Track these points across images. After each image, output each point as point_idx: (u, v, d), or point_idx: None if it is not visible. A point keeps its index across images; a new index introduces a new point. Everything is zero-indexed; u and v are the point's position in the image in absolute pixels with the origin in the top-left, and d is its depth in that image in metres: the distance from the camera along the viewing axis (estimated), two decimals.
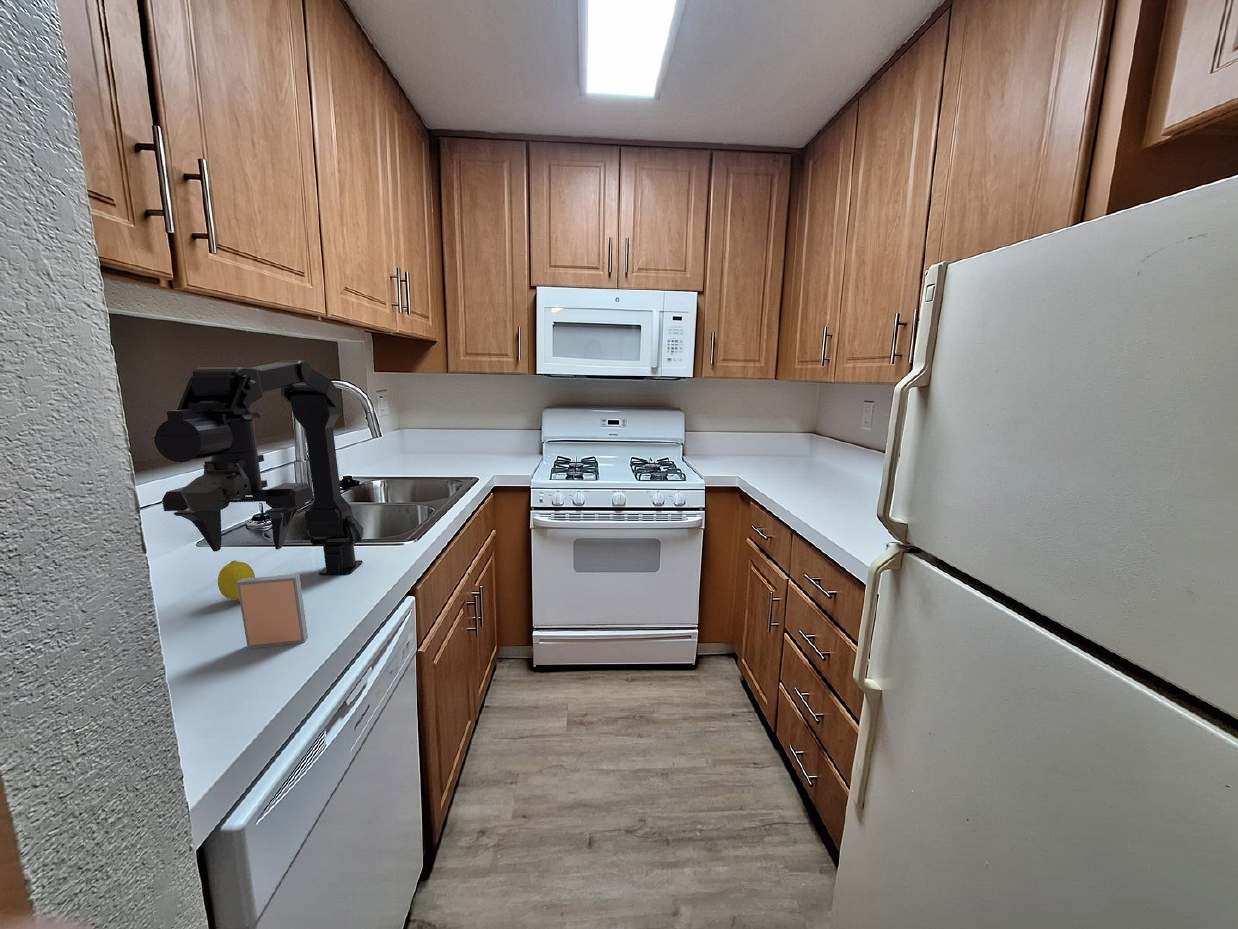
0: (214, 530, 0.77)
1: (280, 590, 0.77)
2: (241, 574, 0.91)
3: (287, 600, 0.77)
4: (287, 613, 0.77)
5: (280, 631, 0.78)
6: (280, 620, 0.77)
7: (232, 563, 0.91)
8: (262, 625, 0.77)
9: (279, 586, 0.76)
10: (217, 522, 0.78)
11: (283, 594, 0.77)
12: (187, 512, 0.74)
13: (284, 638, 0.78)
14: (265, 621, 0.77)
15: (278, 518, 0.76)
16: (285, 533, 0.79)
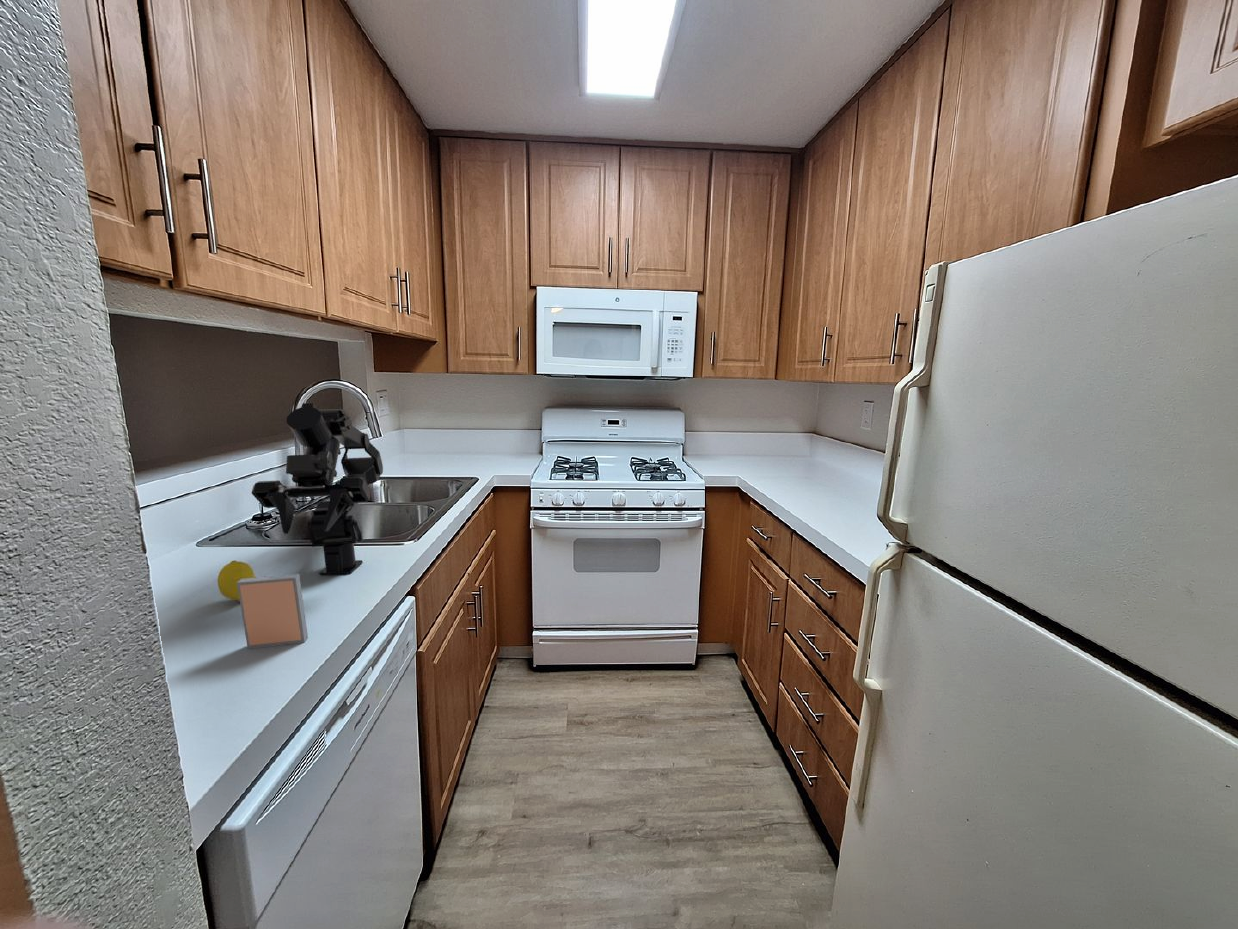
0: (288, 517, 0.92)
1: (280, 590, 0.77)
2: (241, 574, 0.91)
3: (287, 600, 0.77)
4: (287, 613, 0.77)
5: (280, 631, 0.78)
6: (280, 620, 0.77)
7: (232, 563, 0.91)
8: (262, 625, 0.77)
9: (279, 586, 0.76)
10: (291, 515, 0.93)
11: (283, 594, 0.77)
12: None
13: (284, 638, 0.78)
14: (265, 621, 0.77)
15: (336, 500, 0.93)
16: (334, 521, 0.93)
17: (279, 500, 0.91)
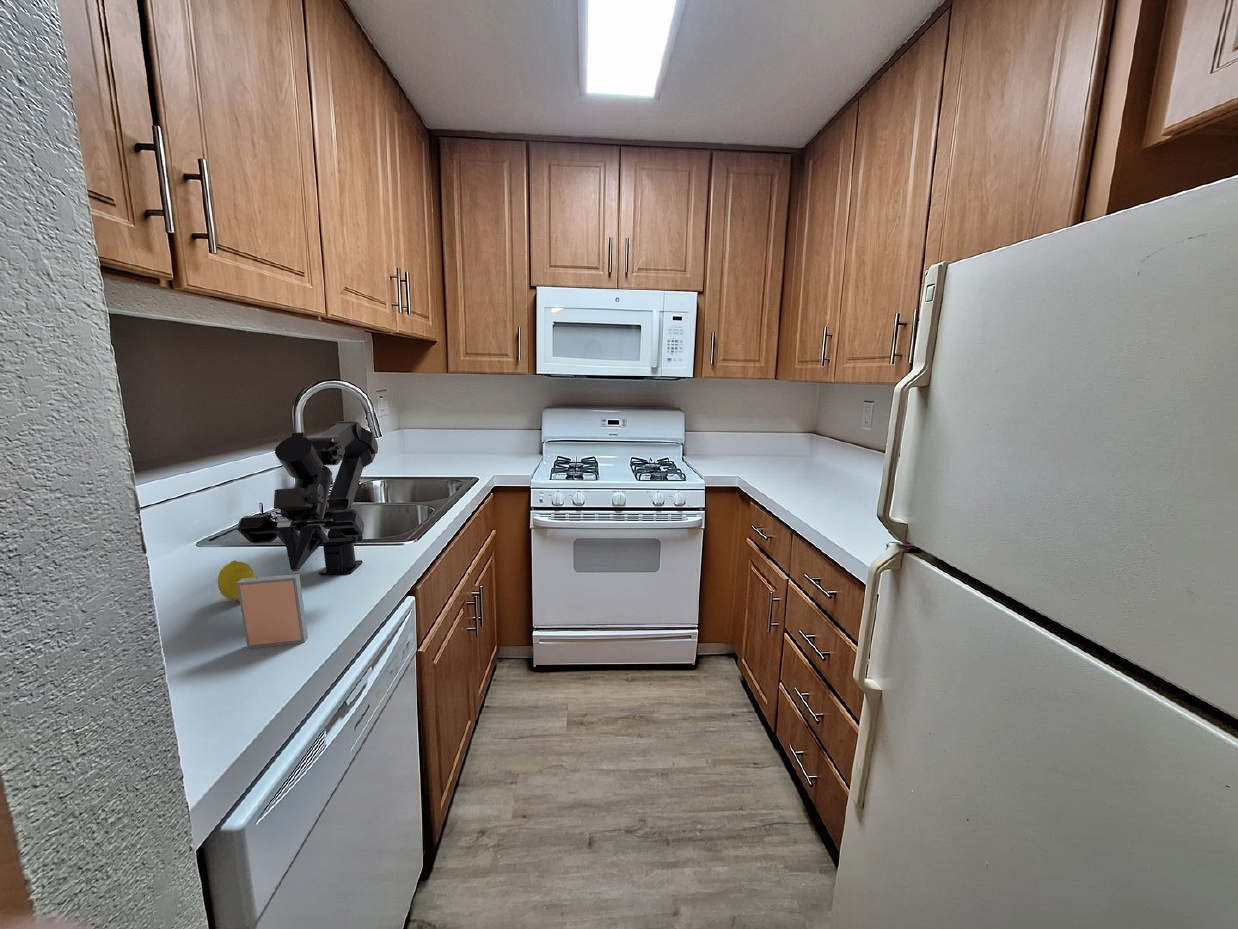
0: (296, 553, 0.87)
1: (280, 590, 0.77)
2: (241, 574, 0.91)
3: (287, 600, 0.77)
4: (287, 613, 0.77)
5: (280, 631, 0.78)
6: (280, 620, 0.77)
7: (232, 563, 0.91)
8: (262, 625, 0.77)
9: (279, 586, 0.76)
10: None
11: (283, 594, 0.77)
12: (286, 528, 0.86)
13: (284, 638, 0.78)
14: (265, 621, 0.77)
15: (307, 537, 0.87)
16: (305, 559, 0.87)
17: (287, 535, 0.86)
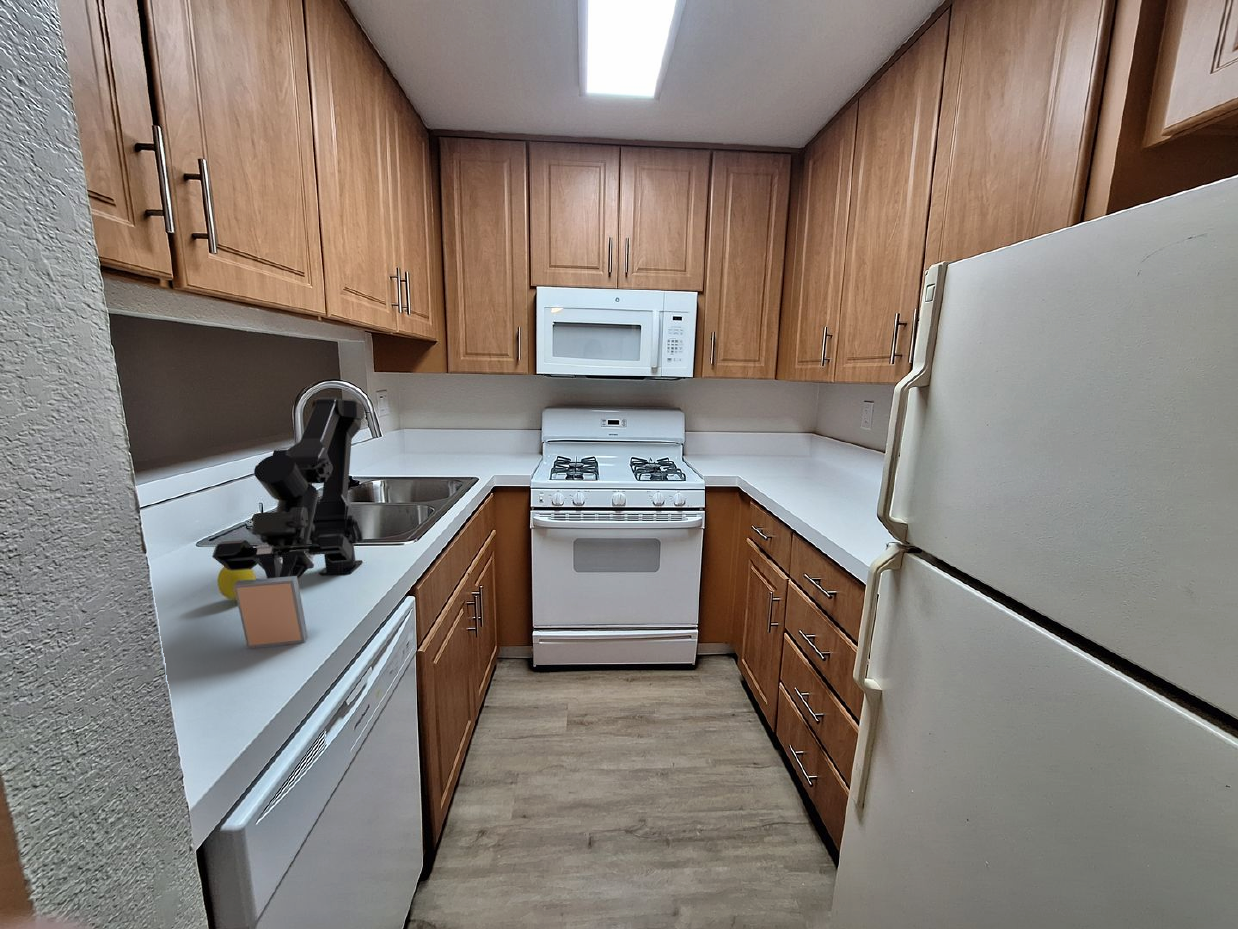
0: None
1: (277, 592, 0.76)
2: (240, 574, 0.91)
3: (285, 602, 0.76)
4: (286, 615, 0.77)
5: (280, 632, 0.77)
6: (279, 621, 0.77)
7: None
8: (261, 626, 0.77)
9: (277, 589, 0.76)
10: None
11: (281, 596, 0.76)
12: (266, 554, 0.79)
13: (284, 638, 0.78)
14: (264, 622, 0.76)
15: (290, 564, 0.80)
16: None
17: (267, 562, 0.79)
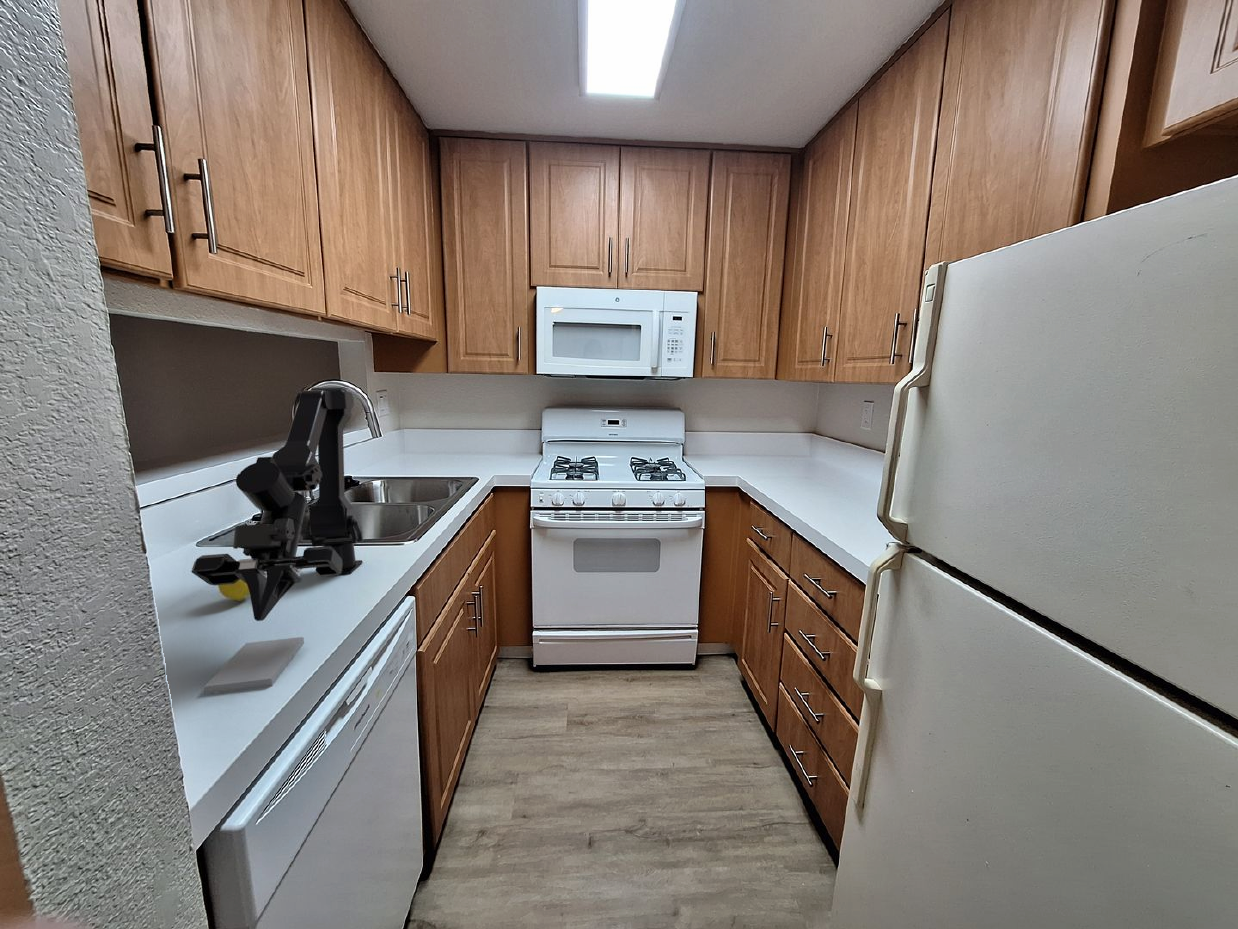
0: None
1: None
2: None
3: None
4: None
5: None
6: None
7: None
8: None
9: None
10: None
11: None
12: None
13: None
14: None
15: (275, 580, 0.75)
16: (272, 605, 0.75)
17: (250, 578, 0.74)
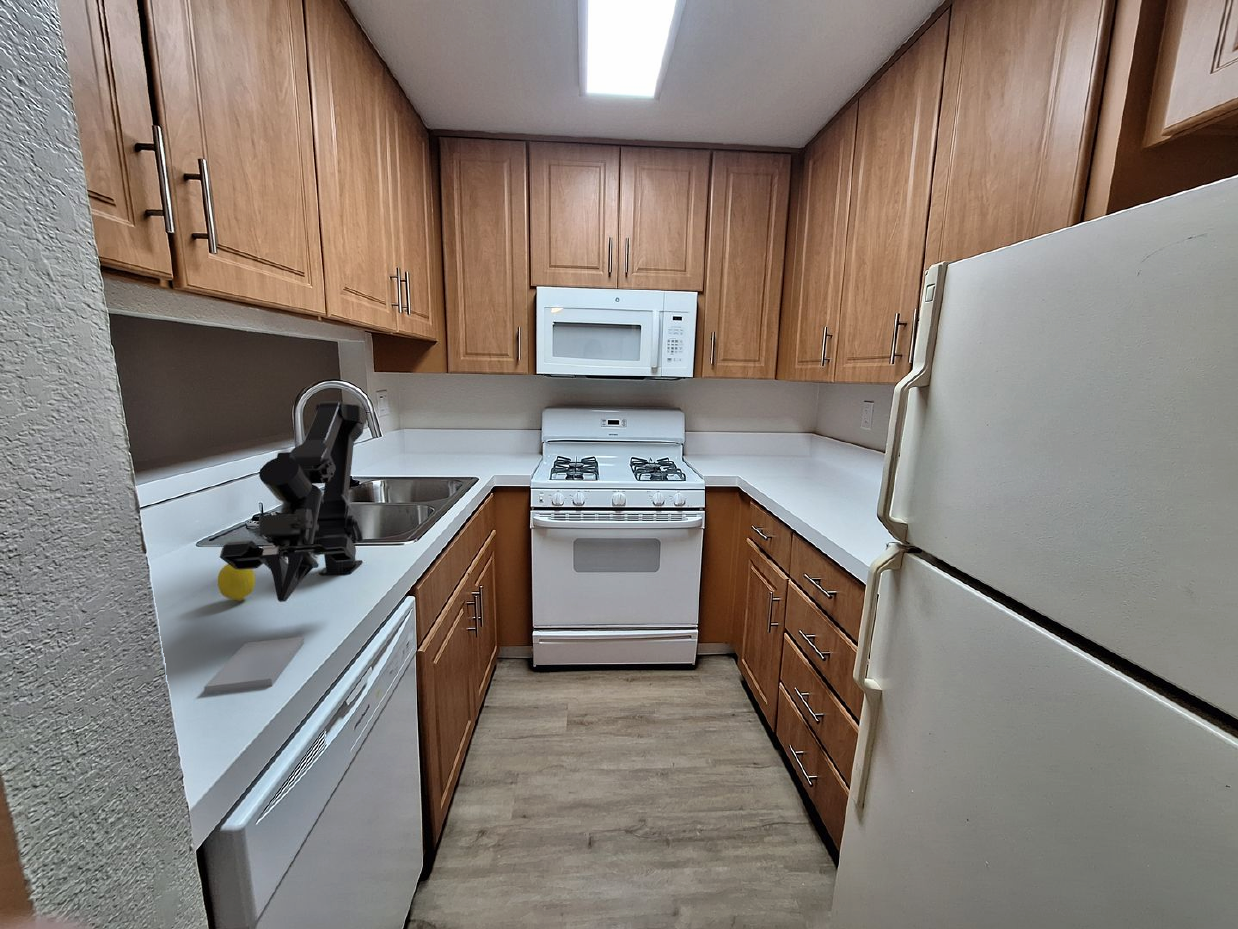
0: None
1: None
2: (241, 574, 0.91)
3: None
4: None
5: None
6: None
7: None
8: None
9: None
10: None
11: None
12: (272, 555, 0.81)
13: None
14: None
15: (295, 565, 0.82)
16: (293, 588, 0.82)
17: (273, 563, 0.81)
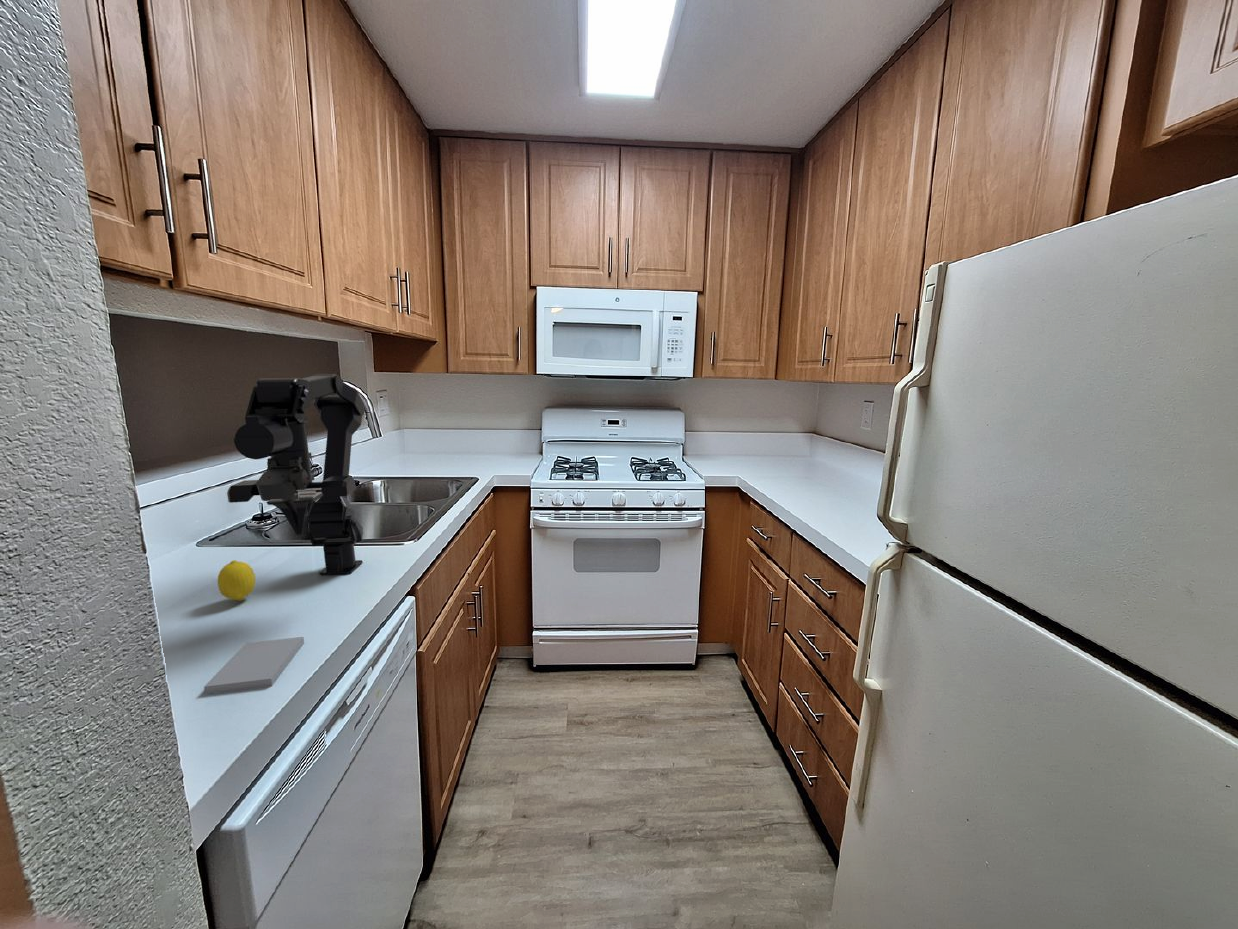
0: (296, 517, 0.90)
1: None
2: (241, 574, 0.91)
3: None
4: None
5: None
6: None
7: (232, 563, 0.91)
8: None
9: None
10: None
11: None
12: (279, 501, 0.87)
13: None
14: None
15: (303, 507, 0.88)
16: (306, 521, 0.91)
17: (282, 507, 0.87)
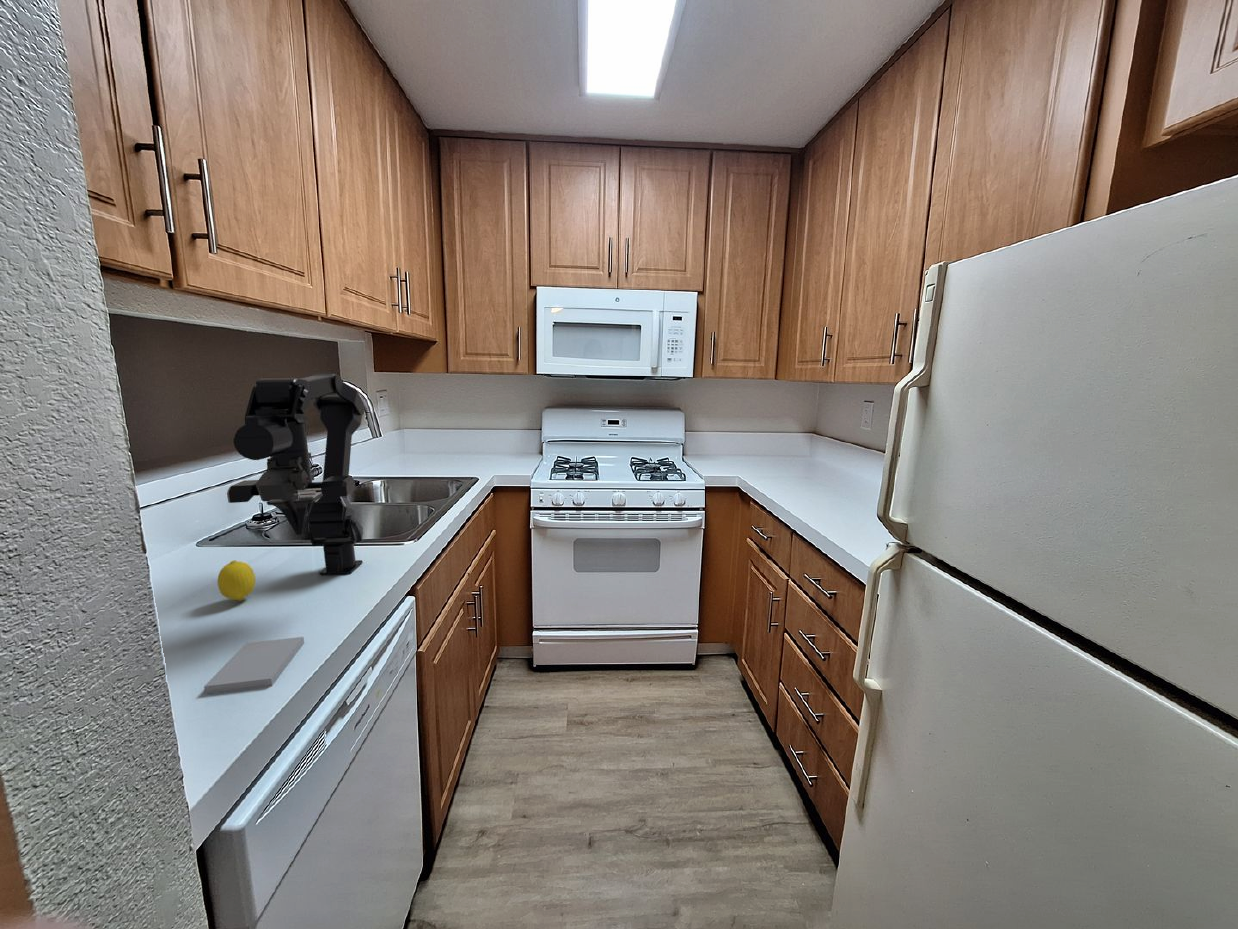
0: (296, 517, 0.90)
1: None
2: (240, 574, 0.91)
3: None
4: None
5: None
6: None
7: (232, 563, 0.91)
8: None
9: None
10: None
11: None
12: (279, 501, 0.87)
13: None
14: None
15: (303, 507, 0.88)
16: (306, 521, 0.91)
17: (282, 507, 0.87)
